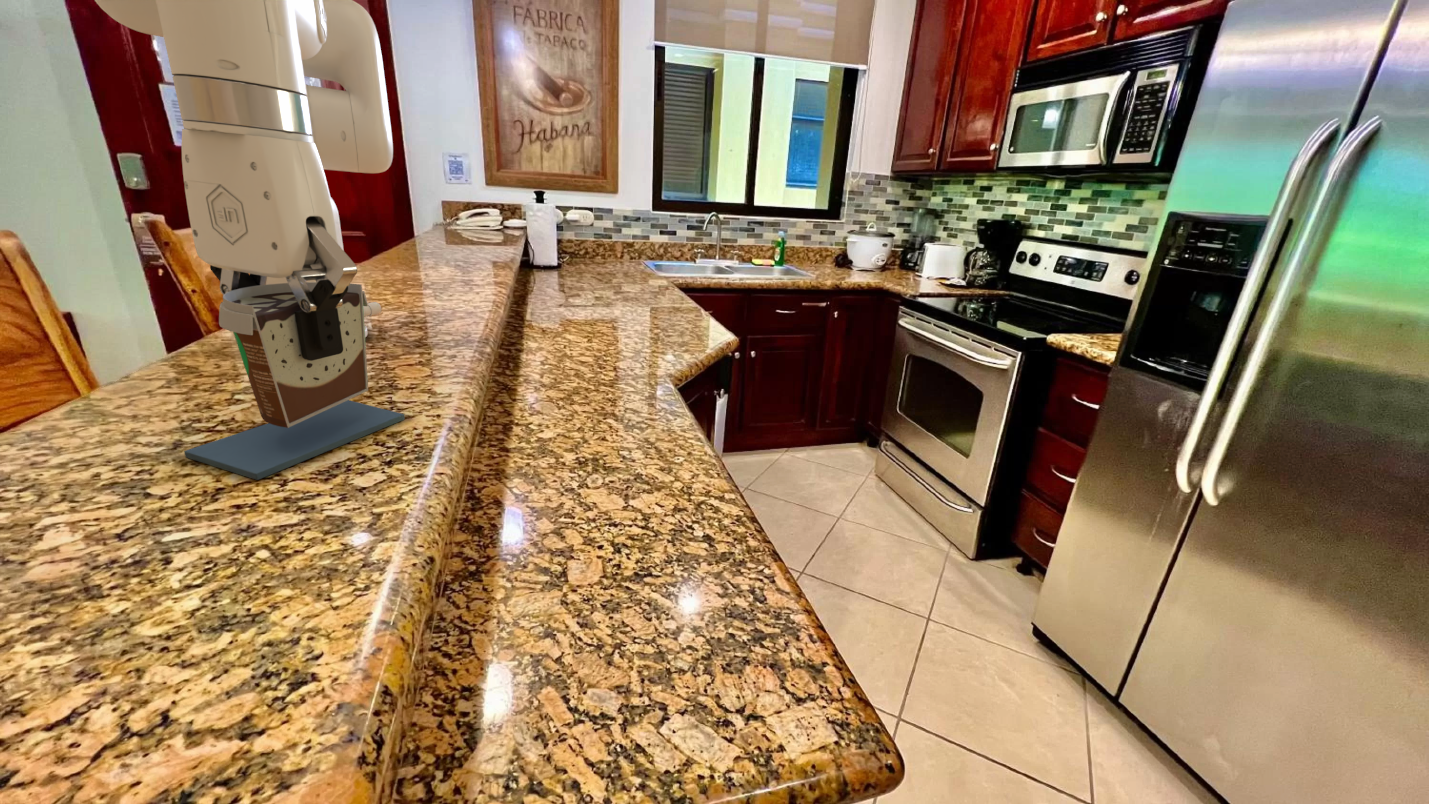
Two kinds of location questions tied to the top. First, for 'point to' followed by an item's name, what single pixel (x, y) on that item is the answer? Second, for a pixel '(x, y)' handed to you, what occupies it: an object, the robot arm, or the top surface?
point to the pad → (292, 440)
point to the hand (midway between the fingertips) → (290, 347)
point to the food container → (294, 352)
